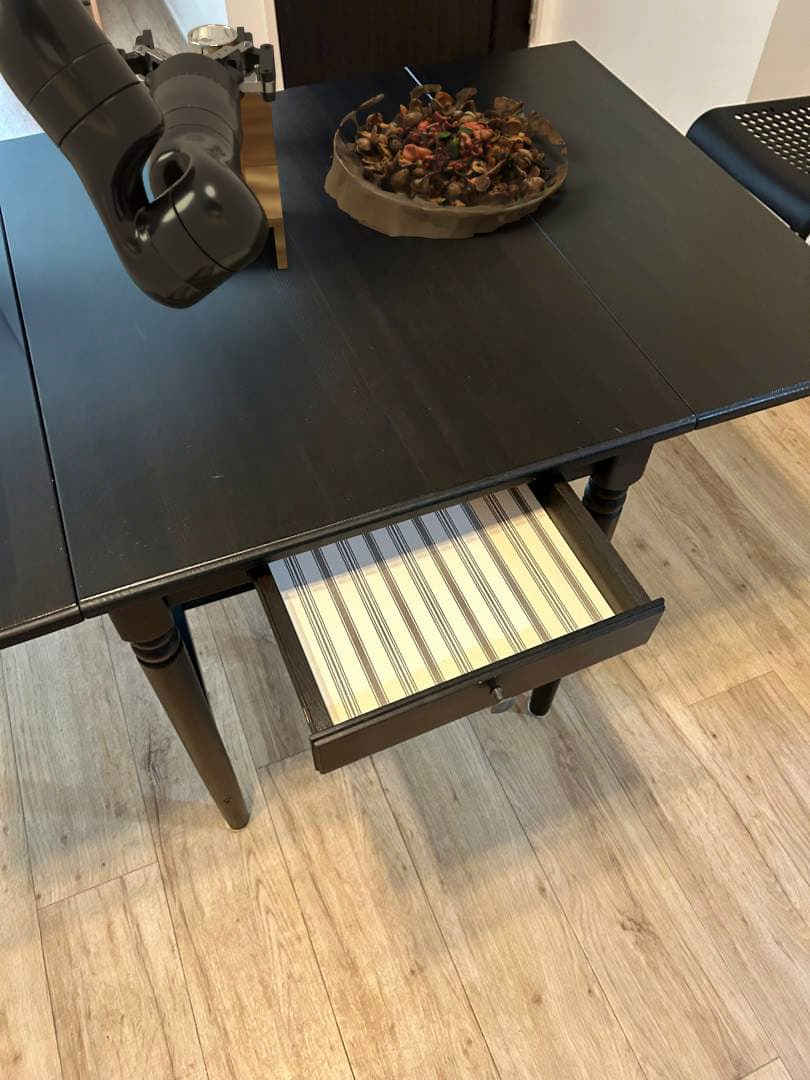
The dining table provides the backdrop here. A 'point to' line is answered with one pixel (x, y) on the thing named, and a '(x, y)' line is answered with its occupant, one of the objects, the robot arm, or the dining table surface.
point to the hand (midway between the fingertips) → (195, 39)
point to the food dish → (443, 167)
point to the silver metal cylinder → (211, 38)
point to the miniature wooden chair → (263, 165)
